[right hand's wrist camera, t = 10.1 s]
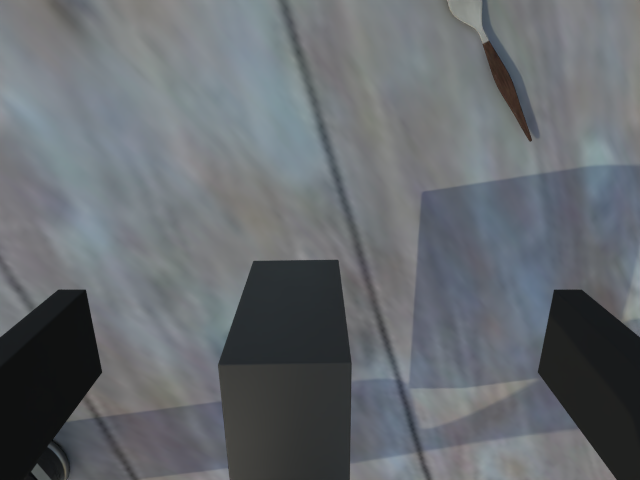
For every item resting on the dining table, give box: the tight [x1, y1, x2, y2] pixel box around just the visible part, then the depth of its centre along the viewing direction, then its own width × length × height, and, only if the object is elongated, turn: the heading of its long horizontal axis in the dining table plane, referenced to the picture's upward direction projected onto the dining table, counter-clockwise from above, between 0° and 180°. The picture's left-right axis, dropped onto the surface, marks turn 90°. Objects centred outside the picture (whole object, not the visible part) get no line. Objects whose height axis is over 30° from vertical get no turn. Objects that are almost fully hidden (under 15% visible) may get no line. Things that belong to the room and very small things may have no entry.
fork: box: [447, 0, 532, 142], centre depth 36 cm, size 3×16×2 cm, turn 32°
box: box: [218, 260, 351, 480], centre depth 29 cm, size 21×6×12 cm, turn 1°
